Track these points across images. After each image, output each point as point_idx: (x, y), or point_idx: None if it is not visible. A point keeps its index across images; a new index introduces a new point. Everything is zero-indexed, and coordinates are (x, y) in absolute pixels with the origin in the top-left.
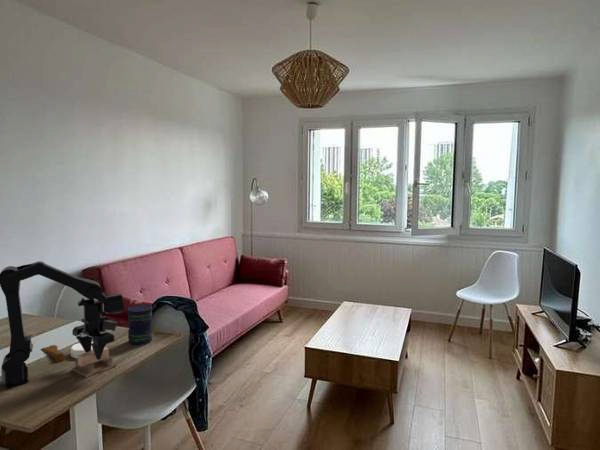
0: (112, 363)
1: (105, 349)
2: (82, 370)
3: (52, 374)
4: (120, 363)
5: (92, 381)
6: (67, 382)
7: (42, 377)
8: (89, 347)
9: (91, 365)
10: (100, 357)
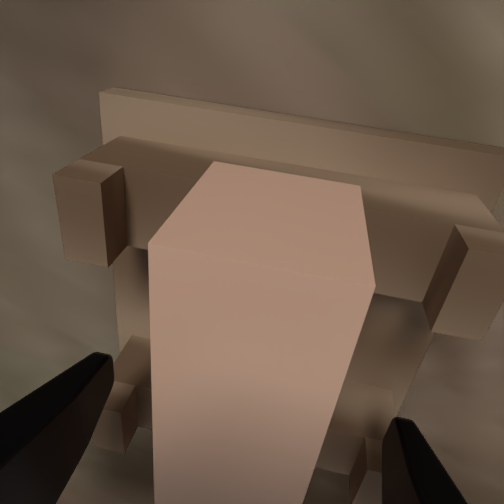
0: (432, 151)
1: (347, 355)
2: None
3: (102, 449)
4: (498, 14)
5: (499, 457)
6: (313, 496)
7: (101, 483)
8: (36, 460)
9: None
10: (426, 448)
